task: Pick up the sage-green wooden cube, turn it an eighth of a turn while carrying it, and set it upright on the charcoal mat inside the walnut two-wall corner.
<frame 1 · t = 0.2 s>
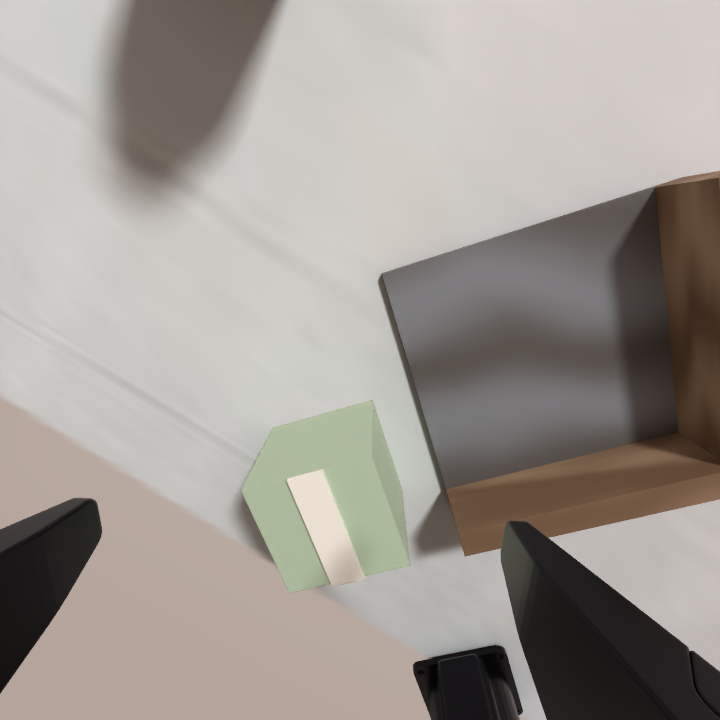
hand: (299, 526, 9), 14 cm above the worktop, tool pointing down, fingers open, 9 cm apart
corner arena: (534, 354, 22), on the worktop
cube: (338, 457, 24), on the worktop
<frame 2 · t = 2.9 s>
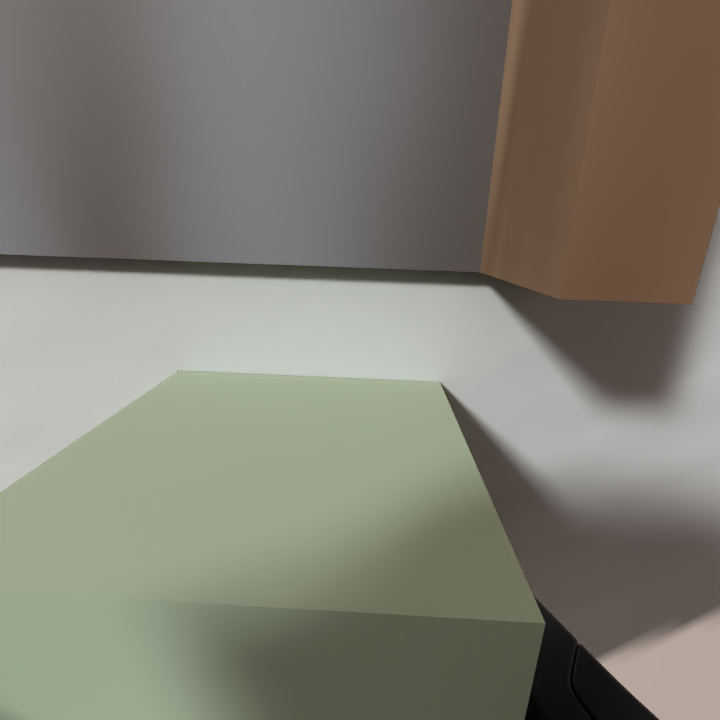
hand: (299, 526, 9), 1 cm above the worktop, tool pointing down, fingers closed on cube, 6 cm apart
cube: (308, 489, 10), on the worktop, touching gripper
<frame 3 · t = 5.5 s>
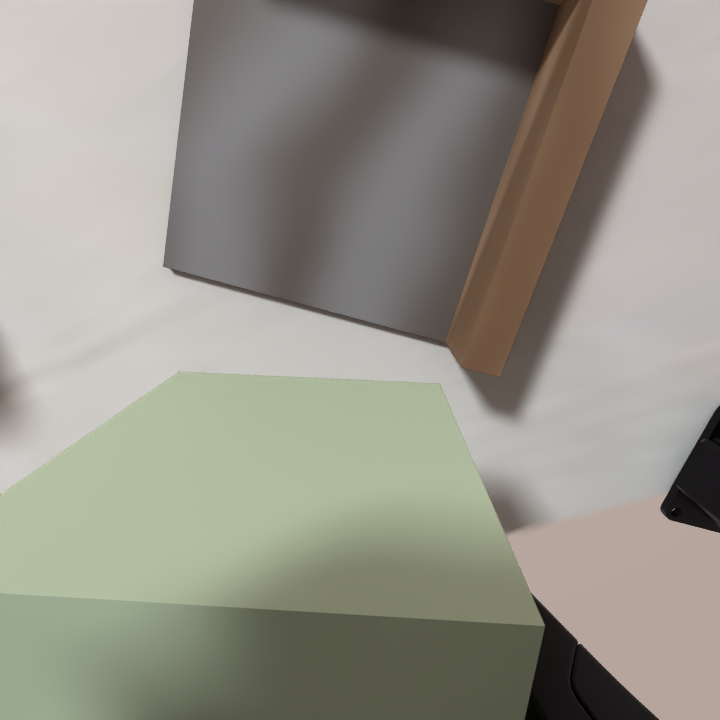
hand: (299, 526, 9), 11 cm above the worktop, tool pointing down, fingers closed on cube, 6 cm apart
corner arena: (342, 151, 17), on the worktop
cube: (308, 490, 10), point 10 cm above the worktop, touching gripper
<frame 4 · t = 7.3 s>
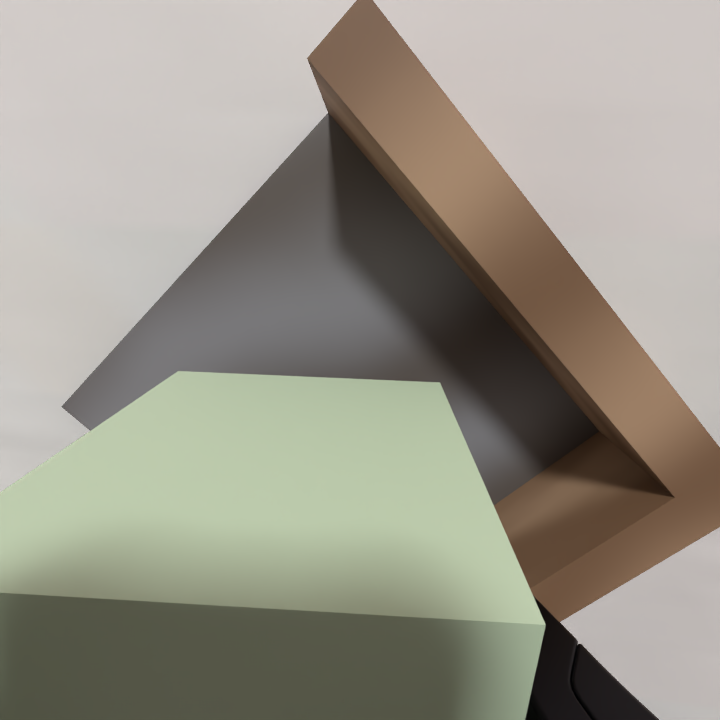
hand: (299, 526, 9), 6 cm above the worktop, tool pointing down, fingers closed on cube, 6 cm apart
corner arena: (327, 413, 14), on the worktop
cube: (308, 490, 10), point 4 cm above the worktop, touching gripper
when the fingers open (3 cm above the worktop, at t = 8.6 s): cube drops 1 cm, resting on corner arena.
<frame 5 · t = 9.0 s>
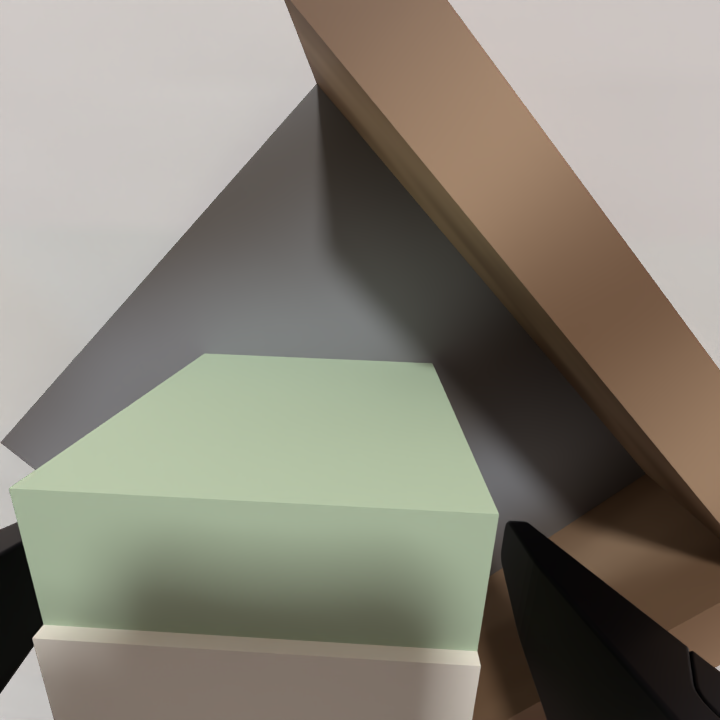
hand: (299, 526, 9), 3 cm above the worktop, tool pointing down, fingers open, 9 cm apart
corner arena: (318, 450, 12), on the worktop
cube: (317, 459, 12), resting on corner arena
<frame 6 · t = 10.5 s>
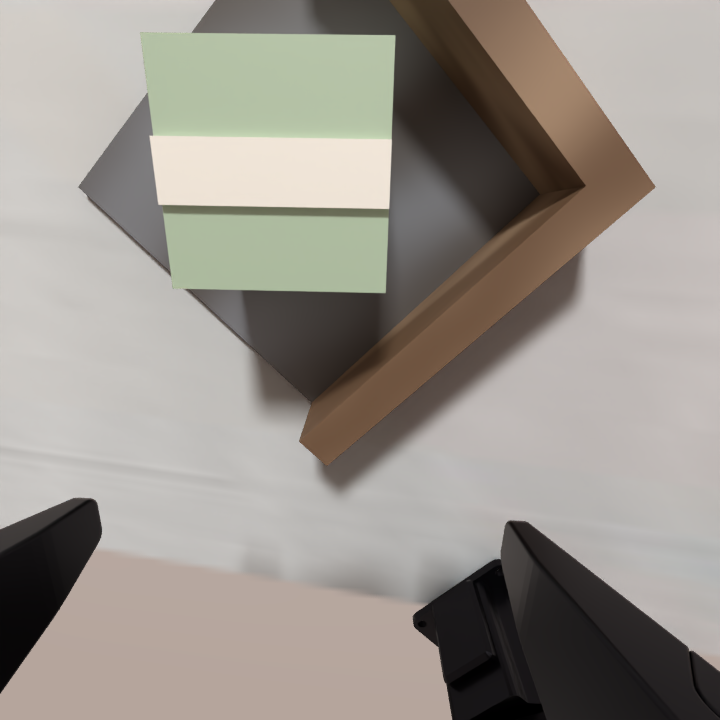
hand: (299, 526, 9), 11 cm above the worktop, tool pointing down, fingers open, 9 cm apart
corner arena: (308, 191, 17), on the worktop
cube: (307, 191, 16), resting on corner arena
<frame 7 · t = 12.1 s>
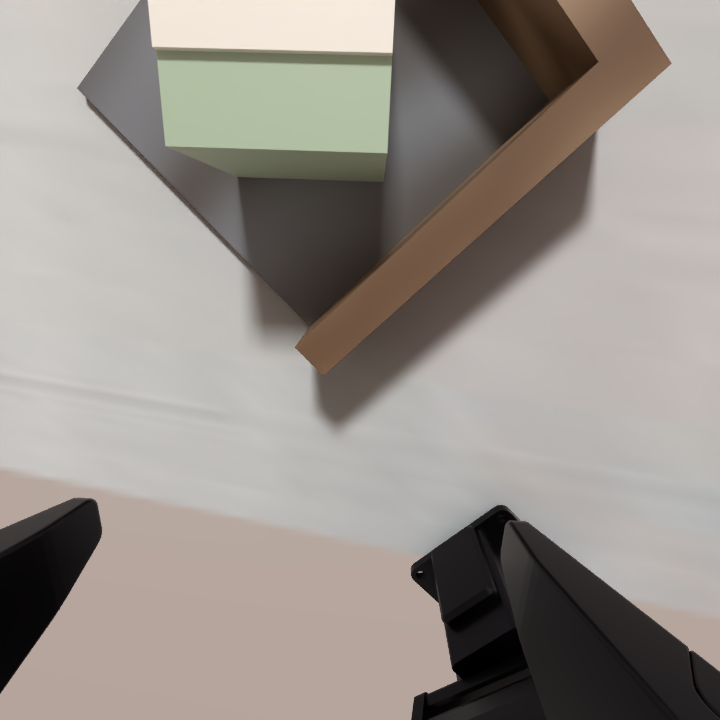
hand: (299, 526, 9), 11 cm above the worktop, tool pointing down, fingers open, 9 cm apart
corner arena: (311, 97, 16), on the worktop
cube: (310, 95, 16), resting on corner arena
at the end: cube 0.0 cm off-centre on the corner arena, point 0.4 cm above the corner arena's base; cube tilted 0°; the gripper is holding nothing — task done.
